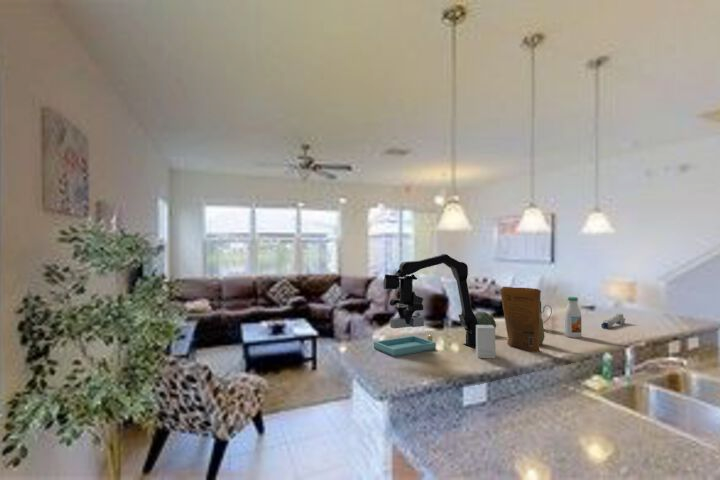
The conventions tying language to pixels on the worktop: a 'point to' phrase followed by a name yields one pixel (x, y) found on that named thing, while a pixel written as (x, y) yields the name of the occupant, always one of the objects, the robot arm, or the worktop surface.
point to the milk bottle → (572, 319)
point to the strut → (401, 323)
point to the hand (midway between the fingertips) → (405, 323)
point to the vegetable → (485, 319)
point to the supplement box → (485, 341)
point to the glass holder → (543, 311)
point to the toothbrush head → (613, 321)
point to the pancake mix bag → (522, 317)
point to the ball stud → (430, 338)
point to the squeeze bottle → (541, 331)
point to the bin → (404, 345)
